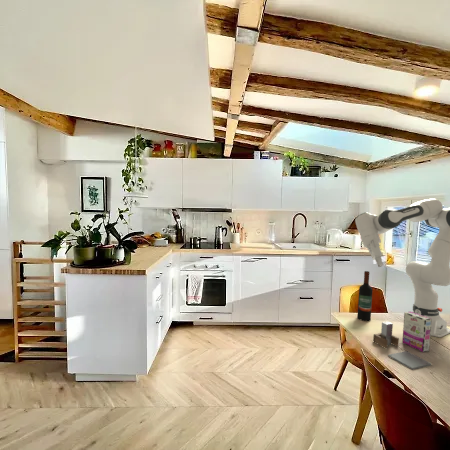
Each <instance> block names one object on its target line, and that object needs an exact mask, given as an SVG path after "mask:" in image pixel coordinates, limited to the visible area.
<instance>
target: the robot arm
mask: <svg viewBox="0 0 450 450" xmlns="http://www.w3.org/2000/svg"><path fill="white" fill-rule="evenodd" d="M408 220H409V221H411V222H413V223H419V222H423V221H424V222H425V224H426V225H427V227H430V228H437V229H439V230H438V233H437V234H436V236H435V237H434V239H433V241H432V243H431V244H430V246H429V248H428V251H427V252H428V255H429V257H430V258H431V259H430V262H425V261H418V260H413V261H410V262H409V261H408V263H407V264H406V266H405V273H406V275H407V276H408V277H409V278H410V281H411V283H412V286H413V289H414V302H413V304H412V312H413V313H416V314H419V315H422V316H425V317H428V318H431V319H432V320H431V333H430V337H436V338H442V337H444V336H446V335H449V334H450V328H448V327H447V320H446V319H445V318H443V317H442V316H441V315H440V313H442V312H443V308H441V307H438V305H439V304H438V303H439V295H438V292H437V291H436V290H435V289H434V288H433V286H436V287H437V286H439V287H448V286H449V285H450V207H448V208H447V207H446V208H444V207H443V204H442V202H441V201H440V200H439V199H437V198H429V199H428V198H427V199H423V200H419V201H415V202H414V203H412V204H409V205H408V206H406V207H404V208H400V209H392V208H389V209H384V211H382V212H380V214H378V215H376V214H371V213H369V212H368V211H366V212H363V213H360V214H359V215H357V216H356V217H355V220H354V222H355V225H356V226H355V227H356V228H357V229H356V230H357V231H358V233H359V235H360V239H361V242H362V245H363V247H364V248H366V249H367V250H368V252H369V254H370V256H371V259H372V261H373V260H374V261H375V262H376V264H377V266H378V268H380V267H383V266H384V263H383V259H382V256H383V252H382V251H381V248H380V246H381V245H380V243H381V242H382V241H381V238H380V235H381V234H384V233H386V232H388V231H391V230H393V229H394V228H397V227H398V226H400V225H401V224H402V222H404V221H408ZM432 285H433V286H432Z"/></svg>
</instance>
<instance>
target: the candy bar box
mask: <svg viewBox="0 0 450 450" xmlns="http://www.w3.org/2000/svg"><path fill="white" fill-rule="evenodd" d="M431 320H432V319H431V318H428V317H425V316H422V315H419V314H416V313H413V311H405V312H404V314H403V327H402V328H403V329H402V341H401V343H402V344H404V345H405V346H409V347H411V348H413V349H415V350H417V351H419V352H422V353H427V352H430V344H431V336H430V333H431Z"/></svg>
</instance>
